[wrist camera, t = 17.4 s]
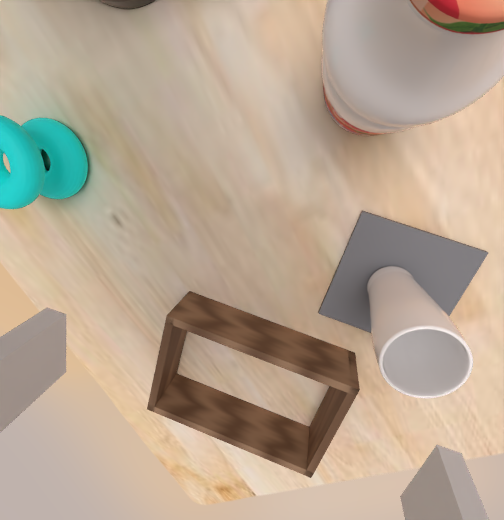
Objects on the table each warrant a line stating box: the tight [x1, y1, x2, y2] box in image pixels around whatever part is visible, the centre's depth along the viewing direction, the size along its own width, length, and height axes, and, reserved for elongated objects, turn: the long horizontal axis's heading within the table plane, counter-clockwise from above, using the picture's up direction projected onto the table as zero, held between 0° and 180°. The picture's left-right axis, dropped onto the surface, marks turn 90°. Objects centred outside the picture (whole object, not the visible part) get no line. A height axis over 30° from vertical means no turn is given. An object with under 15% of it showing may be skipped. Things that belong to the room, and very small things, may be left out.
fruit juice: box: [321, 0, 504, 136], centre depth 20 cm, size 9×9×28 cm
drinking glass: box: [367, 266, 473, 398], centre depth 32 cm, size 7×7×15 cm
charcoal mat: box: [319, 211, 488, 333], centre depth 39 cm, size 14×14×1 cm
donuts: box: [0, 115, 88, 209], centre depth 39 cm, size 10×10×10 cm
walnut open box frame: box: [147, 291, 360, 478], centre depth 44 cm, size 24×16×7 cm, turn 74°
